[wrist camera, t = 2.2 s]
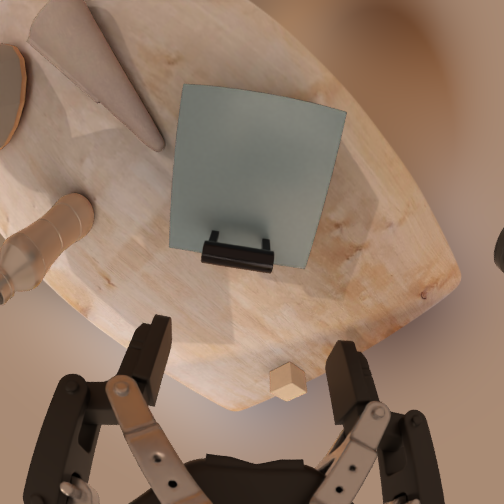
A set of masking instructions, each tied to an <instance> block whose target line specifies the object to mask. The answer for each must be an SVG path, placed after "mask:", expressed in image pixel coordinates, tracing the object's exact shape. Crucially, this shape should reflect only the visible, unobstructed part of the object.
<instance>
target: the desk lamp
mask: <svg viewBox="0 0 504 504" xmlns="http://www.w3.org/2000/svg"><path fill="white" fill-rule="evenodd" d="M26 81H27V76H26V70H25V62H24V58H23V56H22V55H21V53H20V51H19V50H18V48H17V47H15V46H12V45H8V44H3V43H0V150H1V149H2V148H3V147H4V146H5V145H6V144H8V143H9V141H10V139H11V137H12V135H13V134H14V132H15V130H16V128H17V126H18V124H19V120H20V116H21V113H22V109H23V106H24V103H25V91H26Z"/></svg>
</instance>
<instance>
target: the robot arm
mask: <svg viewBox="0 0 504 504" xmlns="http://www.w3.org/2000/svg"><path fill="white" fill-rule="evenodd" d="M171 343H172V323H171V317H167V316H162V315H157V314H156V315H155V316H154V318H153V321H152V323H151V324H146V323H143V324H141V325H140V326H139V327H138V328H137V329H136V330H135V332H134V335H133V337H132V340H131V342H130V344H129V347H128V349H127V351H126V354H125V356H124V358H123V361H122V363H121V366H120V368H119V371H118V373H117V374H116V375H115V376H114V377H112V378H111V379H109V380H108V381H105V382H86V381H85V379H84V378H83V377H81V376H80V375H77V374H68V375H66V376H64V377H63V378H61V380H60V381H59V383H58V386H57V388H56V390H55V393H54V395H53V398H52V401H51V403H50V406H49V408H48V411H47V414H46V416H45V419H44V422H43V425H42V428H41V431H40V434H39V437H38V440H37V443H36V447H35V450H34V453H33V456H32V460H31V464H30V468H29V471H28V476H27V479H26V484H25V488H24V493H23V501H24V504H100V503H99V502H100V500H99V495H98V493H97V491H96V490H95V489H94V488H93V487H92V486H90V485H89V484H88V480H89V475H90V470H91V465H92V461H93V456H94V452H95V448H96V444H97V439H98V435H99V432H100V428H101V425H120V427H121V430H122V432H123V435H124V437H125V439H126V441H127V444H128V446H129V448H130V450H131V452H132V454H133V456H134V457H135V459H136V461H137V463H138V465H139V467H140V469H141V471H142V472H143V474H144V476H145V478H146V479H147V481H148V483H149V484H150V486H151V488H150V489H149V490H147V491H146V492H145V493H144V494H142V495H141V496H139V497H138V498H137V499H135V500H133V501H132V502H130V503H129V504H354V503H353V502H352V501H353V499H354V498H355V496H356V494H357V493H358V491H359V489H360V488H361V486H362V484H363V482H364V481H365V479H366V477H367V475H368V473H369V472H370V470H371V468H372V466H373V464H374V462H375V460H376V458H377V456H378V462H379V469H380V477H381V486H382V495H383V504H445V502H444V496H443V489H442V484H441V479H440V474H439V469H438V464H437V459H436V455H435V451H434V447H433V442H432V439H431V435H430V431H429V427H428V424H427V420H426V418H425V416H424V415H423V414H422V413H421V412H420V411H418V410H410V411H409V412H407V413H406V414H405V415H403V414H399V413H394V412H391V411H390V410H389V408H388V407H387V406H386V405H385V404H384V403H382V402H380V401H379V398H378V395H377V391H376V388H375V385H374V381H373V378H372V376H371V375H372V374H371V372H370V370H369V365H368V362H367V359H366V358H365V357H364V355H363V354H362V353H361V352H357V350H356V347H355V344H354V342H353V341H342V340H338V341H337V342H336V344H335V346H334V348H333V350H332V351H331V353H330V355H329V357H328V359H327V361H326V366H325V370H326V375H327V381H328V386H329V392H330V397H331V403H332V409H333V415H334V421H335V425H343V427H344V429H343V430H342V431H341V433H340V434H339V436H338V438H337V440H336V441H335V442H334V444H333V445H332V447H331V448H330V450H329V451H328V453H327V454H326V456H325V457H324V458H323V460H322V461H321V462H320V463H319V464H318V465H317V466H316V467H315V468H312V467H310V466H307V465H304V463H303V460H302V459H301V460H277V461H271V462H266V463H261V464H253V463H249V462H246V461H243V460H240V459H236V458H233V457H228V456H219V455H212V454H206V458H204V459H196V460H192V461H189V462H187V463H185V464H183V463H182V461H181V460H180V458H179V456H178V455H177V453H176V452H175V450H174V448H173V447H172V445H171V443H170V442H169V440H168V439H167V437H166V435H165V433H164V432H163V430H162V428H161V427H160V425H159V424H158V423H157V422H156V420H155V419H154V417H153V415H152V413H151V411H150V409H149V408H148V405H150V406H155V403H156V400H157V396H158V392H159V388H160V385H161V381H162V378H163V374H164V370H165V367H166V363H167V360H168V356H169V353H170V349H171ZM376 449H377V451H376Z"/></svg>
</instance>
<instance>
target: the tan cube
mask: <svg viewBox="0 0 504 504" xmlns="http://www.w3.org/2000/svg"><path fill="white" fill-rule="evenodd" d="M270 393H272V394H273V395H275V396H277V397H279V398H280V399H282V400H284V401H289V400H291V399H294V398H296V397H298V396H300V395H303V394H305V393H307V386H306V377H305V372H304V371H302V370H301V369H299V368H298V367H297V366H295V365H294V364H292V363H291V362H288V363H286V364H285V365H283V366H281V367H279V368H277V369H275V370H273V371H271V372H270Z"/></svg>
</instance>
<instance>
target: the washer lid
mask: <svg viewBox="0 0 504 504" xmlns="http://www.w3.org/2000/svg"><path fill="white" fill-rule="evenodd" d="M346 114H347V112H345V111H341V110H338V109H334V108H331V107H327V106H323V105H319V104H315V103H311V102H307V101H303V100H298V99H294V98H289V97H284V96H279V95H273V94H268V93H262V92H256V91H250V90H243V89H235V88H227V87H218V86H208V85H195V84H183V90H182V96H181V103H180V111H179V118H178V127H177V135H176V145H175V155H174V166H173V178H172V193H171V210H170V234H169V247H170V248H176V249H182V250H188V251H194V252H200V253H202V256H201V262H202V263H207V264H213V265H219V266H225V267H231V268H238V269H244V270H251V271H257V272H263V273H271V272H272V269H273V264H276V265H282V266H288V267H295V268H301V269H305V267H306V264H307V261H308V257H309V254H310V251H311V248H312V244H313V241H314V238H315V234H316V231H317V227H318V224H319V220H320V217H321V213H322V210H323V206H324V203H325V199H326V195H327V191H328V188H329V184H330V180H331V176H332V172H333V169H334V165H335V161H336V157H337V153H338V149H339V144H340V140H341V136H342V132H343V127H344V123H345V119H346Z"/></svg>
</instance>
